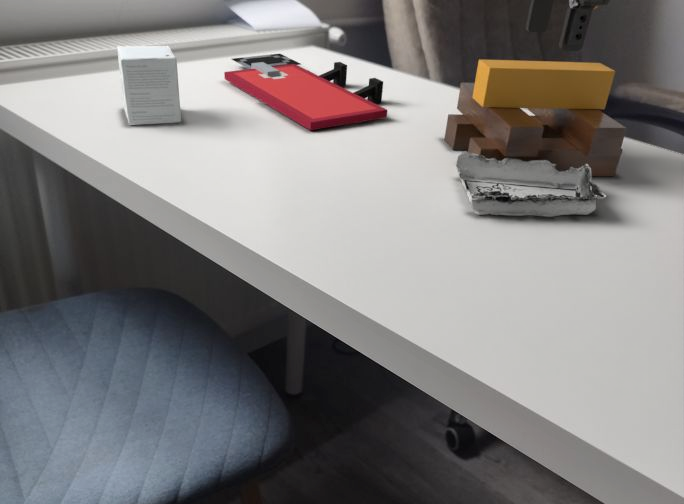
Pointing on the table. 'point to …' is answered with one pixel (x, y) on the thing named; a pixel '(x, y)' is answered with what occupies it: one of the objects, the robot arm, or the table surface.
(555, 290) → the table surface
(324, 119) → the red board with handle
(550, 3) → the robot arm
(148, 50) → the product box
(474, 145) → the stacked wooden blocks
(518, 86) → the ochre bar
